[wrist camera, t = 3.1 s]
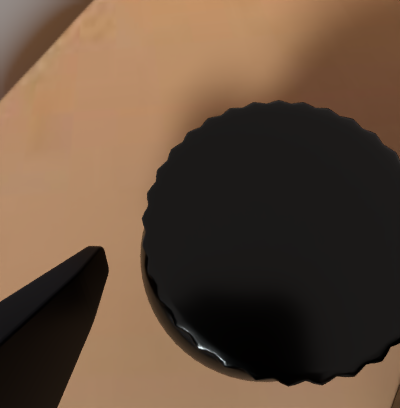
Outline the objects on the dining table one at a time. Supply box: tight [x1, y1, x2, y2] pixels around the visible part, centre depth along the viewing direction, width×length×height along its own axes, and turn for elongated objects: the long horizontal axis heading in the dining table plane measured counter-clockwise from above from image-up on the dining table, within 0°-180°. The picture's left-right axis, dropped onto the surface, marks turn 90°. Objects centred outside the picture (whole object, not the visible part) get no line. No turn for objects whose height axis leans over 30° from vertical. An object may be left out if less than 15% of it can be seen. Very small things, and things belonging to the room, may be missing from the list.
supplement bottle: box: [140, 100, 400, 386], centre depth 10 cm, size 7×7×12 cm
